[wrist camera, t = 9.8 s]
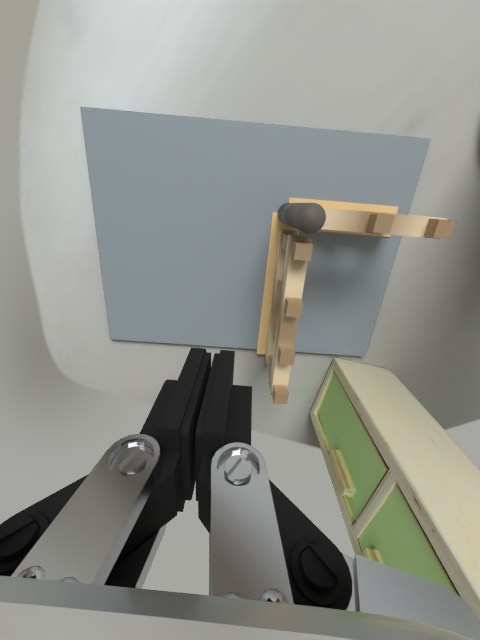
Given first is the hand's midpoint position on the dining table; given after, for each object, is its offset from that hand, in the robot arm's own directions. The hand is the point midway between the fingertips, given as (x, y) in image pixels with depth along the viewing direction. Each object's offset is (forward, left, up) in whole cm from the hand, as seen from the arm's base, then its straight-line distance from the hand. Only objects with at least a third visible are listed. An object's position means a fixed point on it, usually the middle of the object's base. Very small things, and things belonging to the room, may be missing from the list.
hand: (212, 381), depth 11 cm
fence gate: (-5, +1, -15) cm, 16 cm away
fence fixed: (-8, -6, -16) cm, 19 cm away
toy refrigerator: (-14, +12, -16) cm, 24 cm away
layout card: (-1, -3, -16) cm, 16 cm away
